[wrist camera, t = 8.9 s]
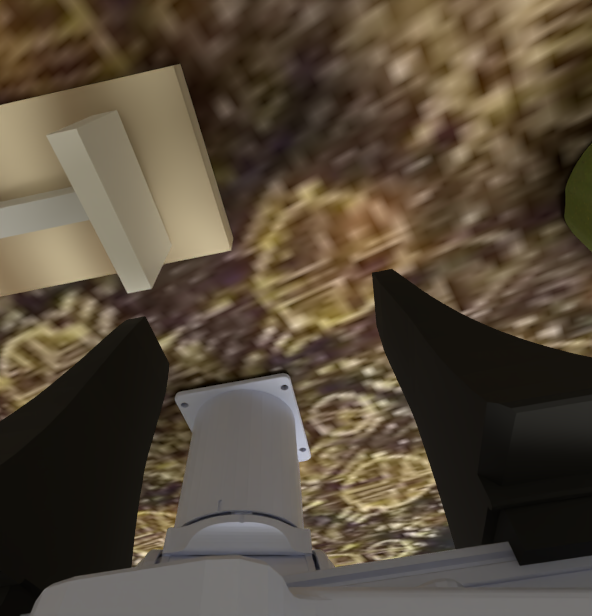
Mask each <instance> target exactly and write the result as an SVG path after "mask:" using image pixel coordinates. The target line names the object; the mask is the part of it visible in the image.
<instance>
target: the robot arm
mask: <svg viewBox="0 0 592 616" xmlns="http://www.w3.org/2000/svg"><path fill="white" fill-rule="evenodd" d="M372 278H373V289H374V301H375V312H376V324H377V328H378V332H379V335H380V338H381V342H382V345H383V348H384V351H385V354H386V356H387V358H388V360H389V363H390V365H391V367H392V369H393V372H394V374H395V376H396V378H397V380H398V382H399V385H400V387H401V389H402V391H403V393H404V395H405V398H406V400H407V402H408V404H409V406H410V409H411V411H412V414H413V416H414V418H415V421H416V424H417V427H418V430H419V433H420V436H421V439H422V442H423V445H424V448H425V451H426V454H427V457H428V460H429V463H430V466H431V469H432V472H433V476H434V479H435V482H436V485H437V488H438V492H439V495H440V498H441V501H442V505H443V508H444V511H445V514H446V518H447V521H448V524H449V528H450V531H451V535H452V538H453V542H454V545H455V548H456V549H454V550H448V551H441V552H434V553H428V554H421V555H414V556H408V557H401V558H394V559H388V560H381V561H374V562H368V563H361V564H354V565H348V566H341V567H335V566H334V565H333V563H332V562H331V561H330V560H329V559H328V557H327V555H326V553H325V552H324V551H322V550H312V544H311V533H310V530H309V529H304V524H303V510H302V497H301V483H300V470H299V462H301V461H306V460H309V459H310V458H311V452H310V448H309V445H308V441H307V437H306V434H305V430H304V426H303V423H302V419H301V415H300V412H299V408H298V404H297V401H296V397H295V394H294V390H293V386H292V383H291V379H290V376H289V375H288V374H285V373H281V374H275V375H270V376H264V377H259V378H253V379H248V380H242V381H236V382H231V383H225V384H220V385H214V386H209V387H203V388H198V389H192V390H186V391H181V392H178V393H177V394H176V396H175V402H176V404H177V405H178V407H179V409H180V411H181V413H182V415H183V417H184V419H185V420H186V422H187V424H188V426H189V428H190V430H191V432H192V438H191V443H190V448H189V453H188V458H187V464H186V469H185V474H184V479H183V484H182V490H181V495H180V500H179V505H178V510H177V516H176V521H175V526H174V528H168V529H167V533H166V538H165V543H164V548H163V550H151V551H149V552H148V553H147V555H146V556H145V558H144V559H142V560H141V561H140V562H139V563H138V564H137V566H136V567H133V568H131V565H132V556H133V546H134V536H135V528H136V521H137V513H138V506H139V499H140V493H141V487H142V481H143V475H144V469H145V465H146V461H147V457H148V453H149V449H150V446H151V442H152V439H153V435H154V432H155V428H156V425H157V422H158V418H159V415H160V411H161V407H162V404H163V400H164V397H165V393H166V387H167V380H168V371H169V362H168V360H167V358H166V356H165V354H164V352H163V350H162V348H161V346H160V344H159V342H158V341H157V339H156V337H155V335H154V333H153V331H152V329H151V327H150V325H149V323H148V321H147V319H146V317H139V318H134V319H129V320H126V321H125V322H123V323H122V324H121V325H119V326H118V327H117V328H116V329H115V330H113V331H112V332H111V333H110V334H109V335H108V336H107V337H105V338H104V339H103V340H102V341H101V342H100V343H99V344H98V345H97V346H95V347H94V348H93V349H92V350H91V351H90V352H89V353H88V354H87V355H85V356H84V357H83V358H82V359H81V360H80V361H79V362H78V363H76V364H75V365H74V366H73V367H72V368H71V369H69V370H68V371H67V372H66V373H65V374H63V375H62V376H61V377H60V378H59V379H57V380H56V381H55V382H54V383H53V384H52V385H50V386H49V387H48V388H47V389H45V390H44V391H43V392H41V393H40V394H39V395H37V396H36V397H35V398H33V399H32V400H31V401H29V402H28V403H26V404H25V405H24V406H22V407H21V408H20V409H18V410H17V411H15V412H14V413H12V414H11V415H9V416H8V417H6V418H5V419H3V420H2V421H0V616H592V357H587V356H582V355H577V354H573V353H569V352H565V351H562V350H558V349H554V348H550V347H547V346H543V345H540V344H536V343H533V342H530V341H527V340H524V339H521V338H518V337H515V336H512V335H510V334H507V333H504V332H501V331H499V330H496V329H494V328H491V327H489V326H487V325H484V324H482V323H480V322H478V321H475V320H473V319H471V318H469V317H467V316H465V315H463V314H461V313H459V312H457V311H455V310H454V309H452V308H450V307H448V306H446V305H445V304H443V303H441V302H440V301H438V300H436V299H435V298H433V297H431V296H430V295H428V294H427V293H425V292H424V291H422V290H421V289H419V288H418V287H417V286H415V285H414V284H412V283H411V282H409V281H408V280H407V279H405V278H404V277H403V276H401V275H400V274H398V273H397V272H396V271H394V270H393V269H389V270H384V271H379V272H374V273H372ZM282 385H286V386H282Z"/></svg>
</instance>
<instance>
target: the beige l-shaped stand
mask: <svg viewBox="0 0 592 616" xmlns="http://www.w3.org/2000/svg"><path fill="white" fill-rule="evenodd" d="M114 110H117V111H118V114H119V116H120V119H121V121H122V124H123V126H124V129H125V131H126V133H127V136H128V138H129V141H130V143H131V146H132V148H133V151H134V153H135V156H136V158H137V161H138V163H139V165H140V168H141V170H142V173H143V175H144V178H145V180H146V183H147V185H148V188H149V190H150V193H151V195H152V198H153V200H154V202H155V205H156V207H157V210H158V212H159V215H160V217H161V220H162V222H163V225H164V227H165V230H166V232H167V234H168V237H169V239H170V242H171V244H172V246H171V248H170V251H169V253H168V255H167V257H166V259H165V261H164V263H163V264H166V263H171V262H176V261H181V260H186V259H191V258H196V257H201V256H206V255H211V254H216V253H221V252H226V251H231V248H232V242H233V235H232V232H231V229H230V226H229V222H228V219H227V216H226V212H225V209H224V206H223V203H222V199H221V196H220V193H219V189H218V186H217V183H216V179H215V176H214V173H213V170H212V166H211V163H210V160H209V156H208V153H207V150H206V147H205V143H204V140H203V137H202V133H201V130H200V127H199V123H198V120H197V117H196V114H195V110H194V107H193V104H192V100H191V97H190V94H189V91H188V87H187V84H186V81H185V77H184V74H183V71H182V67H181V64H177V65H173V66H169V67H164V68H160V69H155V70H151V71H147V72H142V73H138V74H134V75H129V76H125V77H120V78H116V79H112V80H107V81H103V82H99V83H94V84H90V85H86V86H81V87H77V88H72V89H68V90H64V91H59V92H55V93H51V94H46V95H42V96H37V97H33V98H29V99H24V100H20V101H16V102H11V103H7V104H2V105H0V202H2V201H7V200H11V199H16V198H21V197H25V196H30V195H35V194H39V193H44V192H49V191H53V190H58V189H63V188H67V187H72V185H71V183H70V181H69V179H68V177H67V175H66V173H65V171H64V169H63V167H62V166H61V164H60V162H59V160H58V158H57V156H56V154H55V152H54V150H53V148H52V146H51V144H50V142H49V140H48V138H47V137H46V135H48V134H50V133H53V132H55V131H57V130H60V129H62V128H64V127H67V126H69V125H71V124H74V123H76V122H78V121H81V120H83V119H85V118H88V117H90V116H92V115H96V114H101V113H105V112H110V111H114ZM116 273H117V272H116V270H115V268H114V266H113V264H112V262H111V260H110V258H109V256H108V254H107V253H106V251H105V249H104V247H103V245H102V243H101V241H100V239H99V237H98V235H97V233H96V231H95V229H94V227H93V225H92V224H91V222H90V220H87V221H82V222H77V223H72V224H68V225H63V226H58V227H53V228H48V229H44V230H39V231H34V232H29V233H24V234H20V235H15V236H10V237H5V238H0V296H5V295H10V294H15V293H20V292H25V291H30V290H35V289H40V288H45V287H51V286H56V285H61V284H66V283H71V282H76V281H81V280H86V279H91V278H96V277H101V276H106V275H111V274H116Z"/></svg>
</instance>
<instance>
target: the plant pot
mask: <svg viewBox="0 0 592 616" xmlns="http://www.w3.org/2000/svg"><path fill="white" fill-rule="evenodd" d="M565 196H566V200H565V214H564V218H565V221H566V223H567V225H568V227H569V228H570V230H571V231H572V232H573V234H574V235H575V236H576V237H577V238H578V239H579V240H580V241H581V242H582V243H583V244H584V245H585V246H586V247H587V248H588V249H589V250H590V251H591V252H592V143H591V145H590V146H589V147H588V148H587V149H586V151H585V152H584V153H583V155H582V156H581V157H580V159H579V160H578V162H577V163H576V165H575V167H574V169H573V171H572V173H571V175H570V177H569V179H568V182H567V185H566V188H565Z"/></svg>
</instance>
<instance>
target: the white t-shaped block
mask: <svg viewBox="0 0 592 616" xmlns="http://www.w3.org/2000/svg"><path fill="white" fill-rule="evenodd" d="M46 137H47V138H48V140H49V142H50V144H51V146H52V148H53V150H54V152H55V154H56V156H57V158H58V160H59V162H60V164H61V166H62V167H63V169H64V171H65V173H66V175H67V177H68V179H69V181H70V183H71V185H72V187H67V188H63V189H58V190H53V191H49V192H44V193H39V194H35V195H30V196H25V197H21V198H16V199H11V200H7V201H2V202H0V238H5V237H10V236H15V235H20V234H24V233H29V232H34V231H39V230H44V229H48V228H53V227H58V226H63V225H68V224H72V223H77V222H82V221H87V220H90V222H91V224H92V225H93V227H94V229H95V231H96V233H97V235H98V237H99V239H100V241H101V243H102V245H103V247H104V249H105V251H106V253H107V254H108V256H109V258H110V260H111V262H112V264H113V266H114V268H115V270H116V272H117V274H118V276H119V278H120V280H121V282H122V283H123V285H124V287H125V289H126V291H127V293H132V292H138V291H143V290H148V289H152V287H153V285H154V283H155V281H156V278H157V276H158V274H159V272H160V270H161V268H162V266H163V263H164V261H165V259H166V257H167V255H168V253H169V251H170V248H171V246H172V244H171V242H170V239H169V237H168V234H167V232H166V230H165V227H164V225H163V222H162V220H161V217H160V215H159V212H158V210H157V207H156V205H155V202H154V200H153V198H152V195H151V193H150V190H149V188H148V185H147V183H146V180H145V178H144V175H143V173H142V170H141V168H140V165H139V163H138V161H137V158H136V156H135V153H134V151H133V148H132V146H131V143H130V141H129V138H128V136H127V133H126V131H125V129H124V126H123V124H122V121H121V119H120V116H119V114H118V111H117V110H114V111H110V112H105V113H101V114H96V115H92V116H90V117H88V118H85V119H83V120H81V121H78V122H76V123H74V124H71V125H69V126H67V127H64V128H62V129H60V130H57V131H55V132H53V133H50V134H48V135H46Z"/></svg>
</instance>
